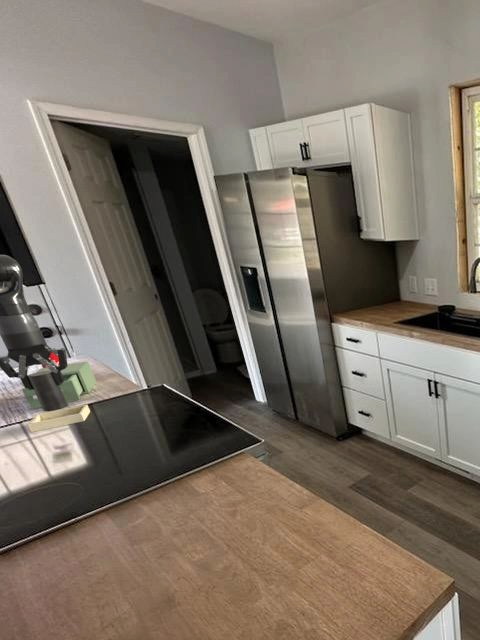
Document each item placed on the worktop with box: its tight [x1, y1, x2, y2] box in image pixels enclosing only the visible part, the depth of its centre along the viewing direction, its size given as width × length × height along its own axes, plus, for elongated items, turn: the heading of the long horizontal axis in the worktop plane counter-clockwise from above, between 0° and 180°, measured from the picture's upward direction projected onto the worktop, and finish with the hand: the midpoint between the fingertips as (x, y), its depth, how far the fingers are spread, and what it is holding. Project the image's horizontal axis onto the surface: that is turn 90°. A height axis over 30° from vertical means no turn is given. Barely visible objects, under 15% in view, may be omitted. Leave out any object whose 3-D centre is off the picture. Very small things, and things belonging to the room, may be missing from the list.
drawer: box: [21, 373, 84, 409], centre depth 138 cm, size 18×11×7 cm, turn 36°
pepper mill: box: [27, 371, 69, 412], centre depth 121 cm, size 5×5×11 cm
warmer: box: [36, 360, 97, 396], centre depth 148 cm, size 15×13×9 cm
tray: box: [27, 404, 91, 433], centre depth 124 cm, size 11×9×2 cm
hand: (46, 386), depth 120 cm, fingers closed on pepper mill, 5 cm apart
